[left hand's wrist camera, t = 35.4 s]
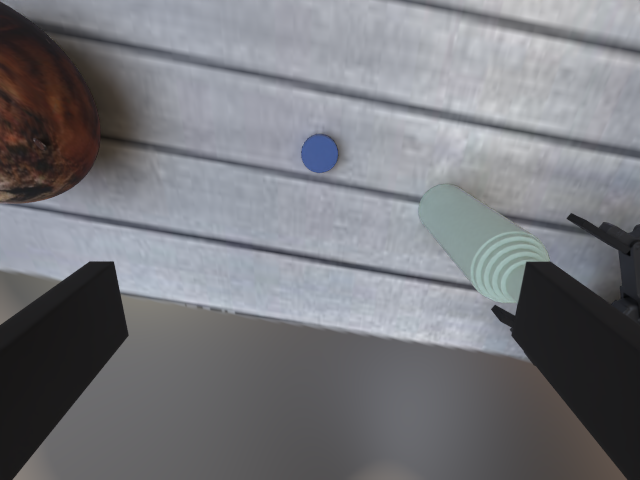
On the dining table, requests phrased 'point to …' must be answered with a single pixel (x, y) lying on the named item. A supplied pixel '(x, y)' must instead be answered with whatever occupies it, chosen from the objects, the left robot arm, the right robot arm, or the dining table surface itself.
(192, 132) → the dining table surface
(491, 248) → the bottle
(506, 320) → the right robot arm
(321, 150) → the cap
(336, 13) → the dining table surface
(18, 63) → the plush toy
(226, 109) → the dining table surface
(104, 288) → the left robot arm
